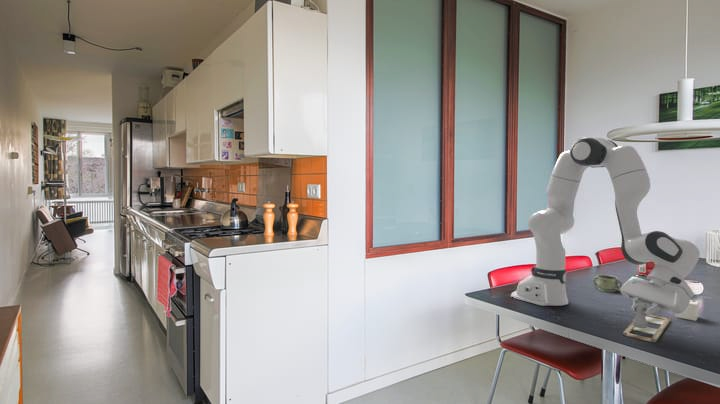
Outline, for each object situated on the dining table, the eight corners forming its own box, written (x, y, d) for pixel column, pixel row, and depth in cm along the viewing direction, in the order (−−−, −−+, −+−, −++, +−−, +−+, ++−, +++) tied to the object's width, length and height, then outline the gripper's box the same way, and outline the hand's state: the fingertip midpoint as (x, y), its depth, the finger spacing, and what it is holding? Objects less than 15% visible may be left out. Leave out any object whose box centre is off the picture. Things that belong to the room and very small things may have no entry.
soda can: (637, 275, 220) (638, 247, 219) (637, 272, 226) (639, 246, 226) (655, 277, 215) (656, 249, 215) (655, 274, 222) (656, 247, 221)
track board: (622, 335, 136) (622, 332, 136) (641, 315, 156) (641, 313, 155) (655, 342, 129) (655, 340, 129) (670, 321, 149) (670, 318, 149)
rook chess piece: (641, 323, 138) (642, 300, 138) (651, 328, 134) (653, 304, 133) (628, 323, 138) (630, 300, 137) (638, 328, 133) (639, 304, 133)
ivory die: (675, 316, 154) (676, 300, 153) (678, 313, 158) (678, 297, 158) (696, 320, 150) (696, 304, 149) (698, 317, 154) (698, 301, 153)
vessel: (589, 289, 193) (590, 275, 193) (595, 285, 199) (596, 272, 199) (618, 294, 185) (619, 280, 184) (624, 290, 191) (624, 277, 190)
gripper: (629, 268, 147) (607, 297, 144) (690, 283, 127) (665, 316, 125) (638, 279, 148) (616, 308, 146) (699, 296, 129) (675, 329, 127)
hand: (639, 312), depth 135 cm, fingers closed on rook chess piece, 3 cm apart
